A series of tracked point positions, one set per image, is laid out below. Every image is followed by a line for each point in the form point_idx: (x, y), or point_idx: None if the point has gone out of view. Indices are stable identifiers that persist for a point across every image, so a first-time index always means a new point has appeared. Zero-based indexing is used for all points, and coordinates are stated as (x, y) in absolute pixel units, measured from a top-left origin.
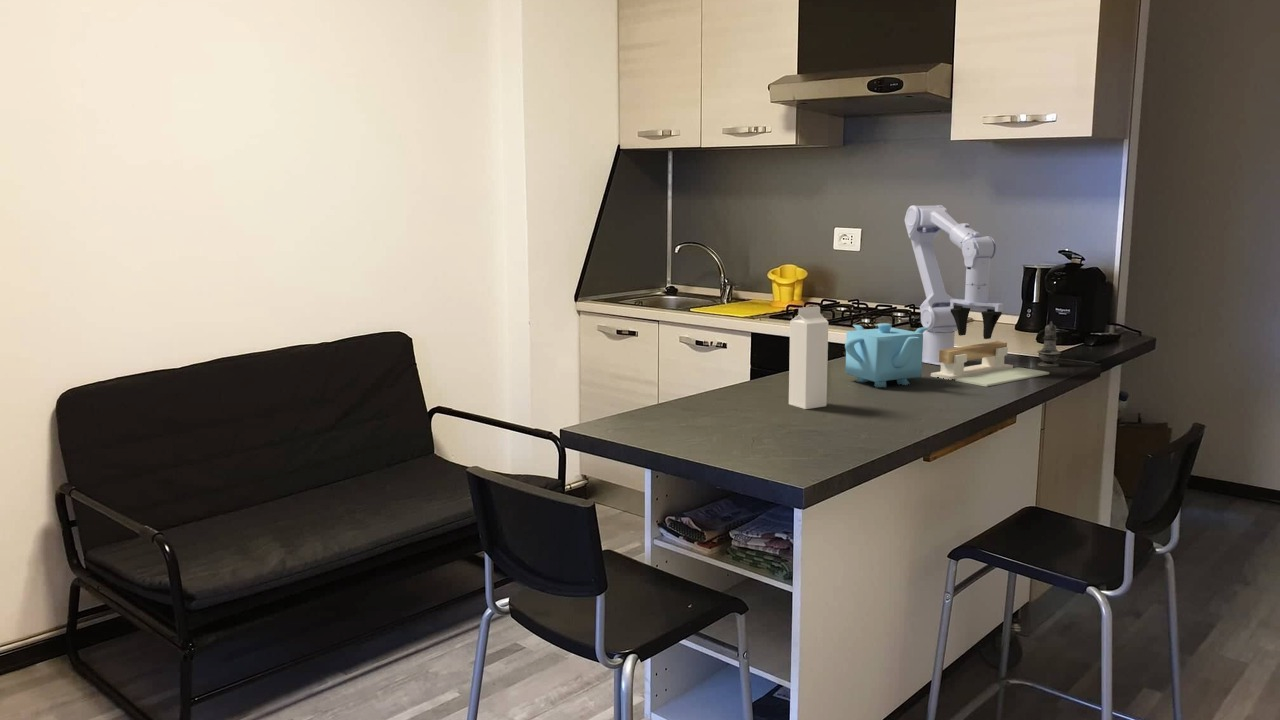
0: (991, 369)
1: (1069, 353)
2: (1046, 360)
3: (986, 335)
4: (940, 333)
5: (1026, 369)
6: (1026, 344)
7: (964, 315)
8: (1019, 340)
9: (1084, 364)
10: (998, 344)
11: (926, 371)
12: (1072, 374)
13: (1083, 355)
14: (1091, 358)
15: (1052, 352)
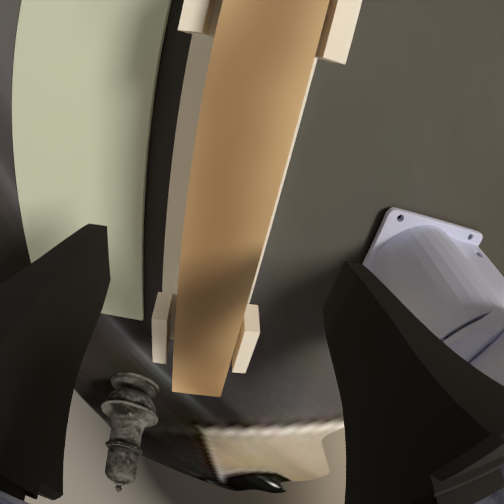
0: (166, 219)
1: (189, 454)
2: (124, 388)
3: (70, 240)
4: (467, 317)
5: None
6: (284, 465)
7: (375, 442)
8: (305, 471)
9: (100, 409)
10: (173, 355)
11: (406, 58)
12: None
13: (163, 450)
14: None
15: (109, 407)
